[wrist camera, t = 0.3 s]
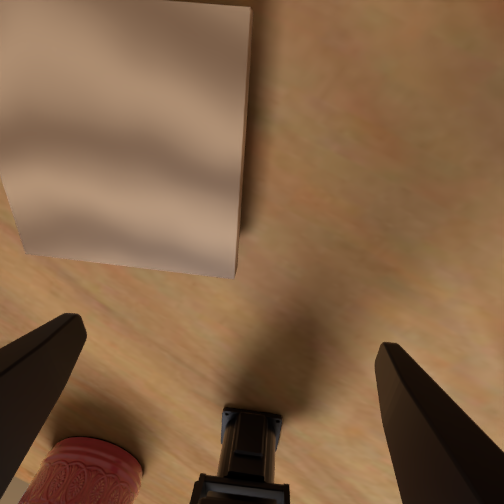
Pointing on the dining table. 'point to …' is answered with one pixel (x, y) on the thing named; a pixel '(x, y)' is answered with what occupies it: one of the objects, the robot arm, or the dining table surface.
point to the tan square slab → (126, 130)
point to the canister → (85, 474)
